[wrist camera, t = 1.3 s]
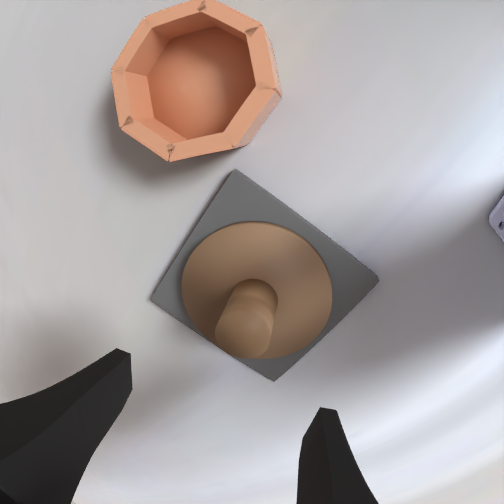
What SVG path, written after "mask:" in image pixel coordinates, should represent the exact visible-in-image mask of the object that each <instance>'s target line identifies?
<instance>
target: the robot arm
mask: <svg viewBox="0 0 504 504" xmlns="http://www.w3.org/2000/svg"><path fill="white" fill-rule="evenodd" d="M501 221H502V225H501V227H500V228H499V223H500V222H501ZM489 223H490V225H491V226H492V228H493V229H494V230H495V231H496V233H497V234H498V235H499V237H500V238H501V239H502V240H503V242H504V196H503V197H502V199H501V200H500V201H499V203H498V204H497V205H496V207H495V208H494V210H493V211H492V212H491V214H490V216H489ZM131 391H132V374H131V354H130V353H127V352H125V351H122V350H120V349H117V348H116V349H114V350H113V351H111V352H110V353H108V354H106V355H105V356H103V357H102V358H100V359H99V360H97V361H96V362H94V363H92V364H91V365H89V366H87V367H86V368H84V369H82V370H81V371H79V372H77V373H76V374H74V375H72V376H70V377H69V378H67V379H65V380H63V381H61V382H59V383H57V384H55V385H53V386H51V387H49V388H47V389H44V390H42V391H40V392H37V393H35V394H32V395H29V396H26V397H23V398H20V399H17V400H14V401H10V402H6V403H2V404H0V504H71V501H72V499H73V496H74V494H75V491H76V489H77V487H78V484H79V482H80V480H81V477H82V475H83V473H84V471H85V469H86V467H87V465H88V463H89V461H90V459H91V457H92V455H93V453H94V452H95V450H96V448H97V447H98V445H99V444H100V442H101V441H102V439H103V438H104V436H105V435H106V433H107V432H108V430H109V429H110V427H111V426H112V424H113V423H114V421H115V420H116V418H117V417H118V415H119V414H120V412H121V411H122V409H123V407H124V405H125V403H126V401H127V399H128V397H129V395H130V393H131ZM297 504H379V503H378V502H377V500H376V499H375V497H374V495H373V494H372V492H371V490H370V489H369V487H368V485H367V483H366V481H365V480H364V477H363V475H362V473H361V471H360V469H359V467H358V465H357V463H356V461H355V458H354V456H353V454H352V451H351V449H350V446H349V444H348V441H347V439H346V436H345V433H344V430H343V428H342V425H341V422H340V419H339V416H338V413H337V411H336V410H333V409H327V408H321V407H320V408H319V410H318V412H317V414H316V416H315V418H314V419H313V421H312V423H311V425H310V426H309V428H308V430H307V432H306V433H305V435H304V437H303V440H302V446H301V451H300V458H299V469H298V488H297Z"/></svg>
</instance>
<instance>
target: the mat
mask: <svg viewBox="0 0 504 504" xmlns="http://www.w3.org/2000/svg"><path fill="white" fill-rule="evenodd" d="M242 221H265V222H270V223H275V224H278V225H281V226H284V227H286V228H288V229H290V230H292V231H294V232H296V233H297V234H299V235H301V236H302V237H303V238H305V239H306V240H307V241H308V242H309V243H310V244H311V245H312V246H313V247H314V248H315V249H316V250H317V251H318V253H319V254H320V256H321V257H322V259H323V260H324V262H325V264H326V266H327V269H328V272H329V275H330V280H331V286H332V307H331V312H330V315H329V318H328V320H327V322H326V325H325V327H324V328H323V329H322V331H321V332H320V334H319V335H318V336H317V337H316V338H315V339H314V340H313V341H312V342H311V343H309V344H308V345H307V346H305V347H304V348H302V349H301V350H299V351H297V352H294V353H292V354H289V355H286V356H283V357H278V358H270V359H256V358H250V359H243V358H237V357H234V356H233V357H234V358H236V359H238V360H239V361H241V362H242V363H244V364H245V365H247V366H249V367H250V368H252V369H254V370H255V371H257V372H258V373H260V374H262V375H263V376H265V377H267V378H268V379H270V380H272V381H273V382H274V381H276V380H277V379H278V378H279V377H280V376H281V375H283V374H284V373H285V372H286V371H287V370H288V369H289V368H291V367H292V366H293V365H294V364H295V363H296V362H297V361H298V360H299V359H301V358H302V357H303V356H304V355H305V354H306V353H307V352H308V351H309V350H310V349H311V348H313V347H314V346H315V345H316V344H317V343H318V342H319V341H320V340H321V339H322V338H323V337H324V336H325V335H326V334H327V333H328V332H329V331H331V330H332V329H333V328H334V327H335V326H336V325H337V324H338V323H339V322H340V321H341V320H342V319H343V318H344V317H345V316H346V315H347V314H348V313H349V312H350V311H351V310H352V309H353V308H354V307H355V306H356V305H357V304H358V303H359V302H360V301H361V300H362V299H363V298H364V297H365V296H366V294H367V293H368V292H369V291H370V290H371V289H372V288H373V287H374V286H375V285H376V284H377V283H378V282H379V278H378V276H377V275H375V274H374V273H373V272H372V271H371V270H369V269H368V268H367V267H366V266H364V265H363V264H362V263H361V262H359V261H358V260H357V259H356V258H354V257H353V256H352V255H351V254H349V253H348V252H347V251H346V250H344V249H343V248H342V247H340V246H339V245H338V244H337V243H335V242H334V241H333V240H331V239H330V238H329V237H328V236H326V235H325V234H324V233H322V232H321V231H320V230H318V229H317V228H316V227H315V226H313V225H312V224H311V223H309V222H308V221H307V220H305V219H304V218H303V217H301V216H300V215H299V214H297V213H296V212H295V211H293V210H292V209H291V208H289V207H288V206H287V205H285V204H284V203H283V202H281V201H280V200H278V199H277V198H276V197H274V196H273V195H272V194H270V193H269V192H267V191H266V190H265V189H263V188H262V187H261V186H259V185H258V184H256V183H255V182H254V181H252V180H251V179H249V178H248V177H247V176H245V175H244V174H242V173H241V172H240V171H238V170H237V169H235V170H233V171H232V173H231V174H230V176H229V177H228V179H227V180H226V182H225V183H224V185H223V186H222V188H221V189H220V191H219V192H218V194H217V195H216V197H215V198H214V200H213V201H212V203H211V204H210V206H209V207H208V209H207V210H206V212H205V213H204V215H203V216H202V218H201V219H200V221H199V222H198V224H197V225H196V227H195V229H194V230H193V232H192V233H191V235H190V236H189V238H188V240H187V241H186V243H185V244H184V246H183V247H182V249H181V251H180V252H179V254H178V255H177V257H176V259H175V260H174V262H173V263H172V265H171V267H170V268H169V270H168V272H167V273H166V275H165V276H164V278H163V280H162V281H161V283H160V285H159V286H158V288H157V290H156V291H155V293H154V295H153V296H152V298H151V300H152V301H153V302H154V303H156V304H157V305H158V306H160V307H161V308H162V309H164V310H165V311H167V312H168V313H169V314H171V315H172V316H174V317H175V318H176V319H178V320H179V321H181V322H182V323H184V324H185V325H186V326H188V327H189V328H191V329H192V330H194V331H195V332H197V333H198V334H200V335H201V336H202V337H204V338H205V339H207V338H206V337H205V336H204V335H203V334H202V333H201V332H200V331H199V330H198V328H197V327H196V326H195V324H194V323H193V322H192V320H191V318H190V316H189V315H188V313H187V310H186V308H185V305H184V301H183V297H182V276H183V271H184V268H185V265H186V263H187V261H188V259H189V257H190V255H191V254H192V253H193V251H194V250H195V249H196V247H197V246H198V245H199V244H200V243H201V242H202V241H203V240H204V239H205V238H206V237H207V236H209V235H210V234H211V233H213V232H214V231H216V230H218V229H220V228H222V227H224V226H227V225H230V224H232V223H237V222H242ZM207 340H208V341H210V340H209V339H207ZM210 342H211V341H210ZM211 343H213V342H211ZM213 344H214V343H213ZM214 345H215V344H214ZM216 346H217V345H216ZM217 347H219V346H217ZM219 348H220V347H219ZM221 349H222V348H221ZM222 350H223V349H222ZM231 356H232V355H231Z"/></svg>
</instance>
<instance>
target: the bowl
mask: <svg viewBox="0 0 504 504" xmlns="http://www.w3.org/2000/svg"><path fill="white" fill-rule="evenodd" d="M111 70H113V71H112V72H111V78H112V85H113V91H114V98H115V104H116V110H117V116H118V121H119V127H122V128H121V130H122V131H124V132H125V133H127V134H128V135H130V136H131V137H133V138H134V139H136V140H137V141H139V142H140V143H141V144H143V145H144V146H146V147H147V148H149V149H150V150H152V151H153V152H154V153H156V154H157V155H159V156H160V157H162V158H163V159H165V160H166V161H170V162H172V161H176V160H180V159H185V158H189V157H194V156H199V155H204V154H208V153H213V152H219V151H224V150H229V149H234V148H238V147H242V146H246V145H247V144H249V143H250V141H251V140H252V138H253V137H254V136H255V134H256V133H257V131H258V130H259V129H260V127H261V126H262V124H263V123H264V122H265V120H266V119H267V118H268V116H269V115H270V113H271V112H272V111H273V109H274V108H275V107H276V105H277V104H278V103H279V101H280V100H281V99H282V98H281V97H280V96H282V92H281V87H280V82H279V77H278V72H277V67H276V62H275V57H274V53H273V48H272V43H271V41H270V39H269V37H268V35H267V33H266V31H265V28H264V26H262V24H261V23H260V22H258V21H256V20H254V19H252V18H250V17H248V16H246V15H244V14H242V13H240V12H238V11H236V10H234V9H232V8H230V7H228V6H226V5H224V4H222V3H220V2H218V1H215V0H191V1H188V2H184V3H181V4H178V5H175V6H172V7H170V8H167V9H164V10H161V11H158V12H156V13H153V14H150V15H148V16H145V19H142V20H141V22H140V23H139V25H138V26H137V28H136V29H135V31H134V33H133V34H132V36H131V37H130V39H129V40H128V42H127V44H126V45H125V47H124V48H123V50H122V52H121V53H120V55H119V57H118V58H117V60H116V62H115V64H114V65H113V67H112V69H111Z"/></svg>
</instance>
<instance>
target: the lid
mask: <svg viewBox="0 0 504 504" xmlns="http://www.w3.org/2000/svg"><path fill="white" fill-rule="evenodd" d="M182 297H183V301H184V305H185V308H186V310H187V313H188V315H189V316H190V318H191V320H192V322H193V323H194V324H195V326H196V327H197V328H198V330H199V331H200V332H201V333H202V334H203V335H204V336H205V337H206V338H207V339H209V340H210V341H211V342H213V343H214V344H215V345H217V346H219V347H220V348H222V349H223V350H224V351H225V352H226V353H228V354H230V355H232V356H234V357H237V358H243V359H250V358H256V359H270V358H278V357H283V356H286V355H289V354H292V353H294V352H297V351H299V350H301V349H302V348H304V347H305V346H307V345H308V344H309V343H311V342H312V341H313V340H314V339H315V338H316V337H317V336H318V335H319V334H320V332H321V331H322V329H323V328H324V327H325V325H326V322H327V320H328V318H329V315H330V312H331V307H332V286H331V280H330V275H329V272H328V269H327V266H326V264H325V262H324V260H323V259H322V257H321V256H320V254H319V253H318V251H317V250H316V249H315V248H314V247H313V246H312V245H311V244H310V243H309V242H308V241H307V240H306V239H305V238H303V237H302V236H301V235H299V234H297V233H296V232H294V231H292V230H290V229H288V228H286V227H284V226H281V225H278V224H275V223H270V222H265V221H242V222H237V223H232V224H230V225H227V226H224V227H222V228H220V229H218V230H216V231H214V232H213V233H211V234H210V235H209V236H207V237H206V238H205V239H204V240H203V241H202V242H201V243H200V244H199V245H198V246H197V247H196V249H195V250H194V251H193V253H192V254H191V255H190V257H189V259H188V261H187V263H186V265H185V268H184V271H183V276H182Z"/></svg>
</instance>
